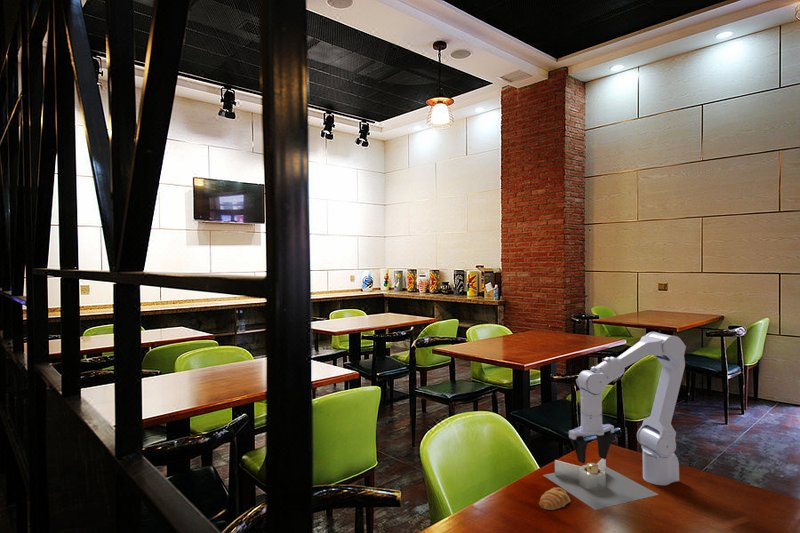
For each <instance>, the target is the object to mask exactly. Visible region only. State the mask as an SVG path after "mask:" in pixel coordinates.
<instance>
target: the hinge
mask: <svg viewBox="0 0 800 533" xmlns="http://www.w3.org/2000/svg"><path fill="white" fill-rule="evenodd" d="M606 460H607V458H606V459H603V458H601V459H600V460H599V461H597V463H596V464H597V465H598V473H596V474H594V473H588V472H587V464H584V465H577V464H574V463H569V462H567V461H566V462H565V461H563V460H562V461H561V460H557V459H554V473H555V476H558V477H562V478H565V479H569V480H572V481H576V482H579V485H580V486H581V487H583V488H584V489H586V490H591V491H596V492H598V491H602V490H605V486H606V479H605V473H606V467H607V465H606V464H607V463H606V462H607V461H606Z"/></svg>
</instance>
